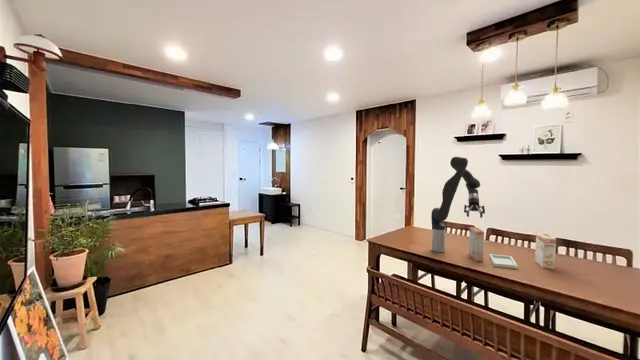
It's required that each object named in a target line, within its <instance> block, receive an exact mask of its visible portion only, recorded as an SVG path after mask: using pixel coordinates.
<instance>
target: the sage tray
mask: <svg viewBox="0 0 640 360" xmlns="http://www.w3.org/2000/svg"><path fill="white" fill-rule="evenodd" d="M488 257H489V259H490V261H491V263H492V266H493V267H494V268H501V269H502V268H503V269H504V268H505V269H511V270H513V269H514V270H518V269H519V265H518V264H517V262H516V261H515V260H514V258H513V256H511V255H501V254H492V253H489V255H488Z"/></svg>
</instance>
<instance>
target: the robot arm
mask: <svg viewBox="0 0 640 360" xmlns="http://www.w3.org/2000/svg"><path fill="white" fill-rule="evenodd" d="M449 163H450V166H451V168H452V169H454V170H455V171H456V172H455V173H454V174H453V175H452V176H451V177H450V178H449V179H448V180H446V182H445V183H444V186H443V188H442V193H441V195H442V202H441V205H440V207H435V208H433V209H432V210H431V215H430V217H431V226H432V234H431V236H432V238H431V252H435V253H445V252H446V225H445V224H444V221H446V220H447V218H448V217H449V213H450V211H451V205H452V203H453V200H454V197H455V195H456V192H457V190H458V187H459V184H460V182H461V180H462V179H463V180H464V182H465V187H466V189H467V191H468V199H467V200H468V205H466V204H464V207H463V208H464V209H463V212H464V213H466V217H468V218H469V217H470V213H471V212H477V213H479V218H480V219H482V218H483V215H484V214H485V213H486V210H485V206H484V205H482V206H480V197H479V190H478V189H479V188H480V186H481V182H480V180H479V179H477V178H476V177H475V176H474V175H473V174H472V173H471V172H470V171H469V170H468V169H467V167H468V163H469V160H468V158H466V157H463V156H462V157H461V156H453V157H452V158H451V159H450V162H449Z"/></svg>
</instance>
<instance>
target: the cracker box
mask: <svg viewBox="0 0 640 360" xmlns="http://www.w3.org/2000/svg"><path fill="white" fill-rule="evenodd" d="M468 241H469V243H468V255H469V257H470V258H471V259H472V260H473V261H475V262H484V247H485V246H484V244H485V243H484V242H485V231H483V230H482V229H480V228H479V227H471V226H470V227H469V239H468Z"/></svg>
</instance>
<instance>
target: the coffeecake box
mask: <svg viewBox="0 0 640 360" xmlns="http://www.w3.org/2000/svg"><path fill="white" fill-rule="evenodd" d="M556 247H557V239H556V238H555V237H554V236H551V235H550V234H548V233H536V234H535V253H534V262H536V263H537V264H538V265H539V266H540V267H541V268H542V269H550V270H551V269H553V270H556V249H557V248H556Z"/></svg>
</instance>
